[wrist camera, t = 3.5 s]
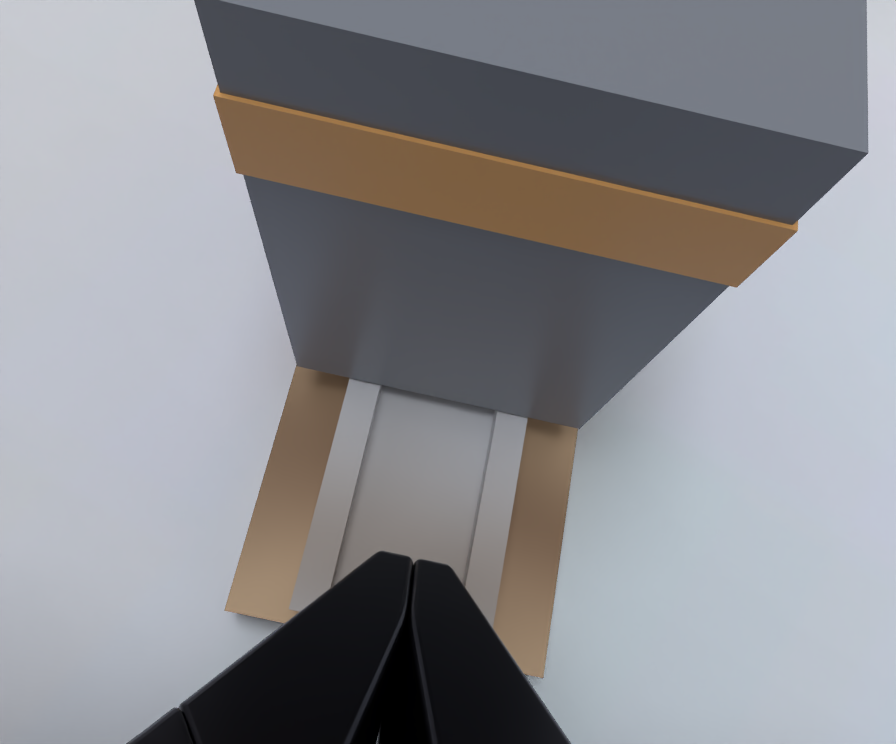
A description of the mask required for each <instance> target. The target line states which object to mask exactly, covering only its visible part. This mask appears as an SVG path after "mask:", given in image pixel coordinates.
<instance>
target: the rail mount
mask: <svg viewBox="0 0 896 744" xmlns="http://www.w3.org/2000/svg"><path fill="white" fill-rule="evenodd" d="M577 431H578V428H573V427H569V426H564V425H560V424H555V423H551V422H546V421H542V420H537V419H533V418H528V417H524V416H519V415H515V414H510V413H506V412H501V411H497V410H492V409H488V408H483V407H479V406H474V405H470V404H465V403H461V402H456V401H452V400H447V399H443V398H438V397H434V396H429V395H425V394H420V393H416V392H411V391H407V390H402V389H398V388H393V387H389V386H384V385H380V384H375V383H371V382H366V381H362V380H357V379H353V378H348V377H344V376H339V375H335V374H330V373H326V372H321V371H316V370H312V369H307V368H303V367H298V366H297V365H296V368H295V372H294V375H293V379H292V382H291V385H290V389H289V392H288V396H287V399H286V402H285V406H284V409H283V413H282V416H281V419H280V423H279V426H278V430H277V433H276V436H275V440H274V443H273V447H272V450H271V454H270V457H269V460H268V464H267V467H266V471H265V474H264V477H263V481H262V484H261V488H260V491H259V494H258V498H257V501H256V505H255V508H254V511H253V515H252V518H251V522H250V525H249V528H248V532H247V535H246V539H245V542H244V545H243V549H242V552H241V556H240V559H239V562H238V566H237V569H236V573H235V576H234V579H233V583H232V586H231V590H230V593H229V596H228V600H227V603H226V607H225V610H224V611H229V612H234V613H238V614H243V615H248V616H253V617H257V618H262V619H267V620H272V621H276V622H281V623H286V622H287V621H288V620H290V619H291V618H292V617H294V616H295V615H296V614H297V613H299V612H300V611H301V610H303V609H304V608H305V607H306V606H308V605H309V604H310V603H312V602H313V601H314V600H315V599H317V598H318V597H319V596H321V595H322V594H323V593H324V592H326V591H327V590H328V589H330V588H331V587H332V586H334V585H335V584H336V583H337V582H339V581H340V580H341V579H343V578H344V577H345V576H346V575H348V574H349V573H350V572H352V571H353V570H354V569H355V568H357V567H358V566H359V565H361V564H362V563H363V562H364V561H366V560H367V559H368V558H370V557H371V556H372V555H374V554H375V553H376V552H378V551H387V552H391V553H396V554H401V555H406V556H409V557H410V558H411V559H412V560H413V565H414V562H415V561H416V560H418V559H424V560H429V561H434V562H439V563H443V564H447V565H449V566H450V567H451V568H453V570H454V571H455V573H456V574H457V576H458V577H459V579H460V580H461V582H462V583H463V585H464V586H465V588H466V589H467V591H468V592H469V594H470V595H471V597H472V598H473V599H474V601H475V602H476V604H477V605H478V607H479V608H480V610H481V611H482V613H483V614H484V616H485V617H486V619H487V620H488V622H489V623H490V625H491V626H492V628H493V629H494V630H495V632H496V633H497V635H498V636H499V638H500V639H501V641H502V642H503V644H504V645H505V647H506V648H507V650H508V651H509V653H510V654H511V656H512V657H513V659H514V660H515V661H516V663H517V664H518V666H519V667H520V669H521V670H522V672H523V673H524V674H526V675H531V676H536V677H540V678H543V675H544V668H545V661H546V654H547V646H548V639H549V632H550V625H551V618H552V611H553V603H554V596H555V589H556V582H557V575H558V568H559V560H560V553H561V546H562V539H563V532H564V525H565V517H566V510H567V503H568V496H569V489H570V482H571V474H572V467H573V460H574V453H575V446H576V439H577Z"/></svg>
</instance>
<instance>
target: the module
mask: <svg viewBox="0 0 896 744" xmlns="http://www.w3.org/2000/svg"><path fill="white" fill-rule="evenodd" d="M194 1H195V5H196V8H197V12H198V16H199V19H200V23H201V26H202V30H203V33H204V37H205V40H206V44H207V47H208V51H209V55H210V58H211V62H212V65H213V69H214V72H215V76H216V79H217V83H218V85H217V87H216V90H215V92H214V95H213V96H214V100H215V103H216V107H217V110H218V113H219V117H220V120H221V123H222V127H223V130H224V134H225V137H226V140H227V144H228V147H229V150H230V154H231V157H232V161H233V164H234V167H235V171H236V173H238V174H243V175H244V179H245V182H246V186H247V189H248V193H249V196H250V200H251V204H252V207H253V211H254V214H255V218H256V221H257V225H258V228H259V232H260V235H261V239H262V243H263V246H264V250H265V253H266V257H267V260H268V264H269V267H270V271H271V275H272V278H273V282H274V285H275V289H276V292H277V296H278V299H279V303H280V306H281V310H282V314H283V317H284V321H285V324H286V328H287V331H288V335H289V338H290V342H291V345H292V349H293V353H294V356H295V360H296V363H297V366H298V367H303V368H307V369H312V370H316V371H321V372H326V373H330V374H335V375H339V376H344V377H348V378H353V379H357V380H362V381H366V382H371V383H375V384H380V385H384V386H389V387H393V388H398V389H402V390H407V391H411V392H416V393H420V394H425V395H429V396H434V397H438V398H443V399H447V400H452V401H456V402H461V403H465V404H470V405H474V406H479V407H483V408H488V409H492V410H497V411H501V412H506V413H510V414H515V415H519V416H524V417H528V418H533V419H537V420H542V421H546V422H551V423H555V424H560V425H564V426H569V427H573V428H578V429H580V428H581V427H582V426H583V425H584V424H585V423H586V422H587V421H588V420H589V419H590V418H591V417H592V416H593V415H594V414H596V413H597V412H598V411H599V410H600V409H601V408H602V407H603V406H604V405H605V404H606V403H607V402H608V401H609V400H610V399H611V398H612V397H613V396H614V395H615V394H616V393H618V392H619V391H620V390H621V389H622V388H623V387H624V386H625V385H626V384H627V383H628V382H629V381H630V380H631V379H632V378H633V377H634V376H635V375H636V374H637V373H638V372H640V371H641V370H642V369H643V368H644V367H645V366H646V365H647V364H648V363H649V362H650V361H651V360H652V359H653V358H654V357H655V356H656V355H657V354H658V353H659V352H660V351H661V350H663V349H664V348H665V347H666V346H667V345H668V344H669V343H670V342H671V341H672V340H673V339H674V338H675V337H676V336H677V335H678V334H679V333H680V332H681V331H682V330H683V329H685V328H686V327H687V326H688V325H689V324H690V323H691V322H692V321H693V320H694V319H695V318H696V317H697V316H698V315H699V314H700V313H701V312H702V311H703V310H704V309H705V308H707V307H708V306H709V305H710V304H711V303H712V302H713V301H714V300H715V299H716V298H717V297H718V296H719V295H720V294H721V293H722V292H723V291H724V290H725V289H726V288H727V287H729V286H732V287H738V286H739V285H740V284H741V283H742V282H743V281H744V280H745V279H746V278H748V277H749V276H750V275H751V274H752V273H753V272H754V271H755V270H756V269H757V268H758V267H759V266H760V265H762V264H763V263H764V262H765V261H766V260H767V259H768V258H769V257H770V256H771V255H772V254H773V253H774V252H775V251H777V250H778V249H779V248H780V247H781V246H782V245H783V244H784V243H785V242H786V241H787V240H788V239H789V238H791V237H792V236H793V235H794V234H795V233H796V232H797V231H798V220H799V219H800V218H801V217H802V216H803V215H804V214H805V213H806V212H807V211H808V210H809V209H810V208H811V207H812V206H813V205H814V204H815V203H816V202H818V201H819V200H820V199H821V198H822V197H823V196H824V195H825V194H826V193H827V192H828V191H829V190H830V189H831V188H832V187H833V186H834V185H835V184H836V183H837V182H838V181H840V180H841V179H842V178H843V177H844V176H845V175H846V174H847V173H848V172H849V171H850V170H851V169H852V168H853V167H854V166H855V165H856V164H857V163H858V162H859V161H860V160H861V159H863V158H864V157H865V156H866V155H867V154H868V88H867V2H866V0H194Z"/></svg>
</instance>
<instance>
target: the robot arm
mask: <svg viewBox="0 0 896 744" xmlns="http://www.w3.org/2000/svg"><path fill="white" fill-rule="evenodd" d="M378 733H379V735H378ZM377 737H378V742H377ZM376 742H377V744H571V743H570V741H569V740H568V738H567V737H566V735H565V734H564V732H563V731H562V729H561V728H560V726H559V725H558V724H557V722H556V721H555V719H554V718H553V716H552V715H551V713H550V712H549V710H548V709H547V707H546V706H545V704H544V703H543V701H542V700H541V698H540V697H539V695H538V694H537V692H536V691H535V690H534V688H533V687H532V685H531V684H530V682H529V681H528V679H527V678H526V676H525V675H524V673H523V672H522V670H521V669H520V667H519V666H518V664H517V663H516V661H515V660H514V659H513V657H512V656H511V654H510V653H509V651H508V650H507V648H506V647H505V645H504V644H503V642H502V641H501V639H500V638H499V636H498V635H497V633H496V632H495V630H494V629H493V628H492V626H491V625H490V623H489V622H488V620H487V619H486V617H485V616H484V614H483V613H482V611H481V610H480V608H479V607H478V605H477V604H476V602H475V601H474V599H473V598H472V597H471V595H470V594H469V592H468V591H467V589H466V588H465V586H464V585H463V583H462V582H461V580H460V579H459V577H458V576H457V574H456V573H455V571H454V570H453V568H451V567H450V566H449V565H447V564H443V563H439V562H434V561H429V560H424V559H418V560H416V561H415V562H414V565H413V560H412V559H411V558H410V557H409V556H406V555H401V554H396V553H391V552H387V551H378V552H376V553H375V554H374V555H372V556H371V557H370V558H368V559H367V560H366V561H364V562H363V563H362V564H361V565H359V566H358V567H357V568H355V569H354V570H353V571H352V572H350V573H349V574H348V575H346V576H345V577H344V578H343V579H341V580H340V581H339V582H337V583H336V584H335V585H334V586H332V587H331V588H330V589H328V590H327V591H326V592H324V593H323V594H322V595H321V596H319V597H318V598H317V599H315V600H314V601H313V602H312V603H310V604H309V605H308V606H306V607H305V608H304V609H303V610H301V611H300V612H299V613H297V614H296V615H295V616H294V617H292V618H291V619H290V620H288V621H287V622H286V623H285V624H283V625H282V626H281V627H279V628H278V629H277V630H275V631H274V632H273V633H272V634H270V635H269V636H268V637H266V638H265V639H264V640H263V641H261V642H260V643H259V644H257V645H256V646H255V647H254V648H252V649H251V650H250V651H248V652H247V653H246V654H245V655H243V656H242V657H241V658H239V659H238V660H237V661H235V662H234V663H233V664H232V665H230V666H229V667H228V668H226V669H225V670H224V671H223V672H221V673H220V674H219V675H217V676H216V677H215V678H214V679H212V680H211V681H210V682H208V683H207V684H206V685H205V686H203V687H202V688H201V689H199V690H198V691H197V692H196V693H194V694H193V695H192V696H190V697H189V698H188V699H186V700H185V701H184V702H183V703H181V704H180V706H179V708H173V709H171V710H170V711H169V712H167V713H166V714H165V715H164V716H162V717H161V718H160V719H158V720H157V721H156V722H155V723H153V724H152V725H151V726H149V727H148V728H147V729H146V730H144V731H143V732H142V733H140V734H139V735H138V736H136V737H135V738H133V739H132V740H131V741H129V742H128V743H127V744H376Z"/></svg>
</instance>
